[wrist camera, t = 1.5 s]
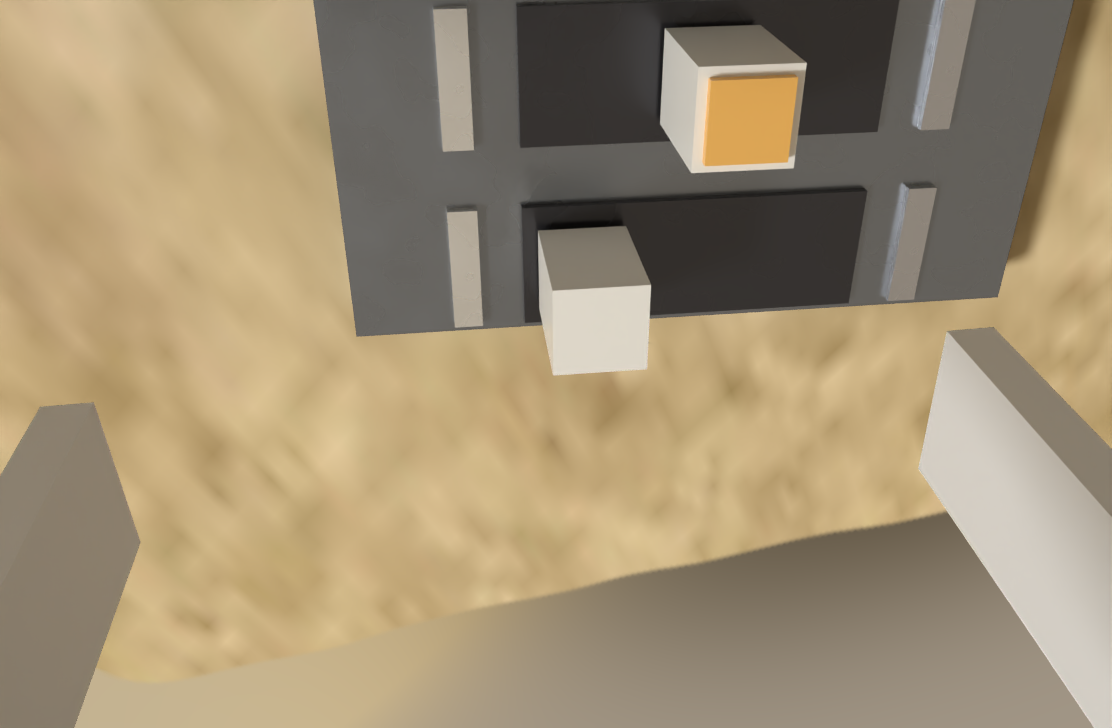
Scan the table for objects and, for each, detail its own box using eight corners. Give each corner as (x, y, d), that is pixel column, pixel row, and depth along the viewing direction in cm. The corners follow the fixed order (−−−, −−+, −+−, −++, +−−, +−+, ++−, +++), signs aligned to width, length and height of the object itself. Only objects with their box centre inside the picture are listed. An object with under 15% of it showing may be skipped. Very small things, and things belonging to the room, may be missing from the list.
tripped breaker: (664, 27, 30) (701, 70, 27) (760, 24, 31) (810, 65, 27) (660, 124, 32) (693, 177, 28) (751, 119, 32) (797, 171, 28)
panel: (288, -259, 28) (278, -259, 26) (1100, -264, 30) (1148, -264, 28) (359, 309, 37) (356, 341, 35) (973, 273, 39) (1001, 301, 38)
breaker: (537, 230, 34) (552, 290, 30) (626, 226, 34) (651, 284, 30) (539, 308, 35) (553, 375, 31) (623, 304, 35) (646, 369, 32)
